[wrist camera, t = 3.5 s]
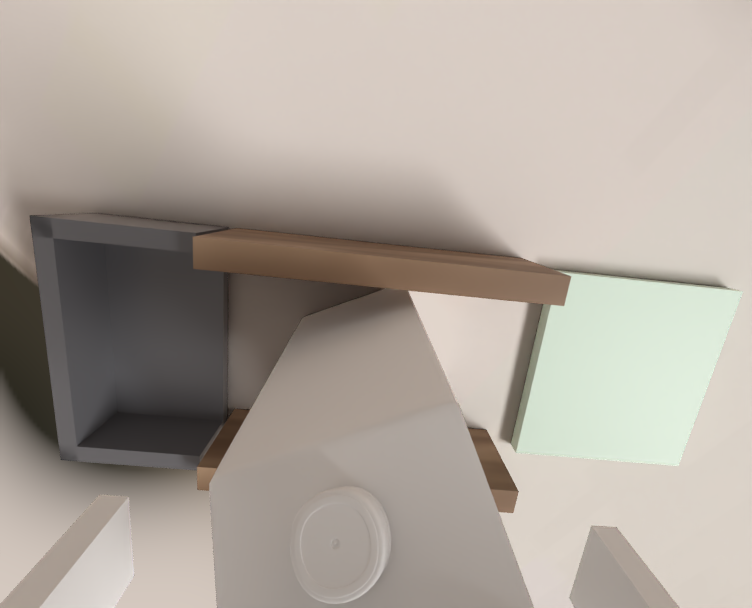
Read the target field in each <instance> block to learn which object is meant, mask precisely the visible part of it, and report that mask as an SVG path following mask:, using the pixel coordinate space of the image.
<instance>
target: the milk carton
mask: <svg viewBox="0 0 752 608" xmlns="http://www.w3.org/2000/svg"><path fill="white" fill-rule="evenodd" d="M209 492H210V508H211V524H212V539H213V553H214V554H213V555H214V570H215V586H216V601H217V608H534V607H533V604H532V601H531V599H530V596H529V593H528V590H527V588H526V585H525V582H524V580H523V577H522V574H521V571H520V569H519V566H518V563H517V561H516V558H515V555H514V552H513V550H512V547H511V544H510V542H509V539H508V536H507V533H506V531H505V528H504V525H503V523H502V520H501V517H500V514H499V512H498V509H497V506H496V504H495V501H494V498H493V495H492V493H491V490H490V487H489V485H488V482H487V479H486V476H485V474H484V471H483V468H482V466H481V463H480V460H479V458H478V455H477V452H476V449H475V447H474V444H473V441H472V439H471V436H470V433H469V430H468V428H467V425H466V422H465V420H464V417H463V414H462V411H461V409H460V406H459V404H458V402H457V399H456V397H455V395H454V393H453V390H452V388H451V386H450V384H449V381H448V379H447V377H446V375H445V373H444V370H443V368H442V366H441V364H440V361H439V359H438V357H437V355H436V352H435V350H434V348H433V346H432V343H431V341H430V339H429V337H428V334H427V332H426V330H425V328H424V325H423V323H422V321H421V319H420V317H419V314H418V312H417V310H416V308H415V305H414V303H413V301H412V299H411V296H410V294H409V292H408V290H398V289H389V288H386V289H383V290H380V291H377V292H374V293H372V294H369V295H366V296H363V297H360V298H357V299H354V300H351V301H348V302H346V303H343V304H340V305H337V306H334V307H331V308H328V309H325V310H322V311H320V312H317V313H314V314H311V315H308V316H306V317H304V318H302V319H301V321H300V323H299V325H298V326H297V328H296V330H295V332H294V333H293V335H292V337H291V339H290V341H289V342H288V344H287V346H286V348H285V349H284V351H283V353H282V355H281V356H280V358H279V360H278V362H277V363H276V365H275V367H274V369H273V371H272V372H271V374H270V376H269V378H268V379H267V381H266V383H265V385H264V386H263V388H262V390H261V392H260V394H259V395H258V397H257V399H256V401H255V402H254V404H253V406H252V408H251V409H250V411H249V413H248V415H247V416H246V418H245V420H244V422H243V424H242V425H241V427H240V429H239V431H238V432H237V434H236V436H235V438H234V439H233V441H232V443H231V445H230V447H229V448H228V450H227V452H226V454H225V455H224V457H223V459H222V461H221V463H220V464H219V466H218V468H217V470H216V472H215V474H214V476H213V478H212V480H211V482H210V483H209Z"/></svg>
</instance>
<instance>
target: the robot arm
mask: <svg viewBox="0 0 752 608" xmlns="http://www.w3.org/2000/svg"><path fill="white" fill-rule="evenodd" d="M133 577H134V565H133V550H132V537H131V521H130V507H129V497H128V496H112V495H99V496H98V497H97V498H96V499H95V500H94V501H93V503H92V504H91V505H90V506H89V507H88V508H87V509H86V510H85V511H84V512H83V514H82V515H81V516H80V517H79V518H78V519H77V520H76V522H75V523H73V525H72V526H71V527H70V528H69V529H68V530H67V531H66V532H65V534H63V536H62V537H61V538H60V539H59V540H58V541H57V542H56V543H55V544H54V545H53V547H52V548H51V549H50V550H49V551H48V552H47V553H46V554H45V556H44V557H43V558H42V559H41V560H40V561H39V562H38V563H37V564H36V565H35V566H34V568H33V569H32V570H31V571H30V572H29V573H28V574H27V575H26V576H25V577H24V579H23V580H22V581H21V582H20V583H19V584H18V585H17V586H16V587H15V588H14V590H13V591H12V592H11V593H10V594H9V595H8V596H7V597H6V598H5V599H4V601H3V602H2V603H1V604H0V608H115V606H116V604H117V603H118V601H119V600H120V598H121V596H122V595H123V593H124V591H125V590H126V588H127V586H128V585H129V583H130V582H131V580H132V578H133ZM569 598H570V600H571V602H572V604H573V606H574V608H679V606H678V605H677V604H676V602H675V601H674V600H673V599H672V597H671V596H670V595H669V594H668V592H667V591H666V590H665V588H664V587H663V586H662V585H661V583H660V582H659V581H658V580H657V578H656V577H655V576H654V574H653V573H652V572H651V571H650V569H649V568H648V567H647V565H646V564H645V563H644V562H643V560H642V559H641V558H640V557H639V555H638V554H637V553H636V551H635V550H634V549H633V548H632V546H631V545H630V544H629V543H628V541H627V540H626V539H625V537H624V536H623V535H622V534H621V532H620V531H619V530H618V528H617V527H605V526H591V529H590V532H589V535H588V539H587V542H586V545H585V548H584V552H583V555H582V558H581V561H580V565H579V568H578V571H577V574H576V578H575V581H574V584H573V587H572V591H571V594H570V597H569Z"/></svg>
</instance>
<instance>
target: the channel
mask: <svg viewBox="0 0 752 608" xmlns="http://www.w3.org/2000/svg"><path fill="white" fill-rule="evenodd" d="M193 269H200V270H210V271H220V272H230V273H240V274H249V275H259V276H269V277H279V278H289V279H299V280H309V281H319V282H329V283H339V284H349V285H359V286H369V287H379V288H389V289H398V290H408V291H418V292H428V293H438V294H448V295H458V296H468V297H478V298H488V299H498V300H508V301H518V302H528V303H537V304H547V305H557V306H564V305H565V301H566V297H567V292H568V288H569V284H570V280H571V276H569V275H566V274H563V273H561V272H558V271H555V270H553V269H550V268H547V267H544V266H542V265H539V264H536V263H534V262H531V261H528V260H525V259H523V258H514V257H504V256H495V255H486V254H476V253H467V252H457V251H448V250H439V249H429V248H420V247H410V246H401V245H391V244H382V243H373V242H363V241H354V240H344V239H335V238H326V237H316V236H307V235H297V234H288V233H279V232H269V231H260V230H250V229H241V228H234V229H229V230H224V231H219V232H214V233H209V234H204V235H199V236H194V237H193ZM249 411H250V410H244V409H234V410H233V412H232V414H231V415H230V417H229V418H228V420H227V421H226V423H225V424H224V426H223V427H222V429H221V431H220V432H219V434H218V435H217V437H216V438H215V440H214V441H213V443H212V444H211V446H210V448H209V449H208V451H207V452H206V454H205V455H204V457H203V458H202V460H201V462H200V463H199V465H198V466H197V489H198V490H208V491H209V483H210V482H211V480H212V478H213V476H214V474H215V472H216V470H217V468H218V466H219V464H220V463H221V461H222V459H223V457H224V455H225V454H226V452H227V450H228V448H229V447H230V445H231V443H232V441H233V439H234V438H235V436H236V434H237V432H238V431H239V429H240V427H241V425H242V424H243V422H244V420H245V418H246V416H247V415H248V413H249ZM468 430H469V433H470V436H471V439H472V441H473V444H474V447H475V449H476V452H477V455H478V458H479V460H480V463H481V466H482V468H483V471H484V474H485V476H486V479H487V482H488V485H489V487H490V490H491V493H492V495H493V498H494V501H495V504H496V506H497V509H498V512H507V513H513V512H514V508H515V504H516V500H517V496H518V492H519V491H518V490H517V488H516V486H515V484H514V482H513V480H512V478H511V476H510V474H509V472H508V470H507V468H506V466H505V464H504V463H503V461H502V459H501V457H500V455H499V453H498V451H497V449H496V447H495V445H494V443H493V441H492V439H491V437H490V436H489V434H488V432H487V430H482V429H470V428H468Z"/></svg>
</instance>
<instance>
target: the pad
mask: <svg viewBox="0 0 752 608" xmlns="http://www.w3.org/2000/svg"><path fill="white" fill-rule="evenodd" d="M555 271H558V272H561V273H563V274H566V275H569V276H571V280H570V284H569V288H568V292H567V297H566V301H565V305H564V306H557V305H547V304H543V307H542V311H541V315H540V320H539V324H538V328H537V333H536V337H535V341H534V346H533V350H532V354H531V359H530V363H529V367H528V372H527V376H526V380H525V385H524V389H523V393H522V398H521V402H520V406H519V411H518V415H517V419H516V424H515V428H514V432H513V437H512V441H511V445H512V447H513V449H514V450H515V452H516V453H524V454H537V455H549V456H561V457H574V458H586V459H598V460H610V461H623V462H635V463H647V464H660V465H672V466H679V463H680V460H681V458H682V455H683V452H684V450H685V447H686V444H687V441H688V439H689V436H690V433H691V431H692V428H693V425H694V423H695V420H696V417H697V414H698V412H699V409H700V406H701V404H702V401H703V398H704V396H705V393H706V390H707V387H708V385H709V382H710V379H711V377H712V374H713V371H714V369H715V366H716V363H717V360H718V358H719V355H720V352H721V350H722V347H723V344H724V341H725V339H726V336H727V333H728V331H729V328H730V325H731V323H732V320H733V317H734V314H735V312H736V309H737V306H738V304H739V301H740V298H741V296H742V293H743V291H739V290H735V289H730V288H724V287H714V286H705V285H695V284H686V283H676V282H667V281H657V280H648V279H638V278H629V277H619V276H610V275H600V274H591V273H581V272H572V271H562V270H555Z"/></svg>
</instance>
